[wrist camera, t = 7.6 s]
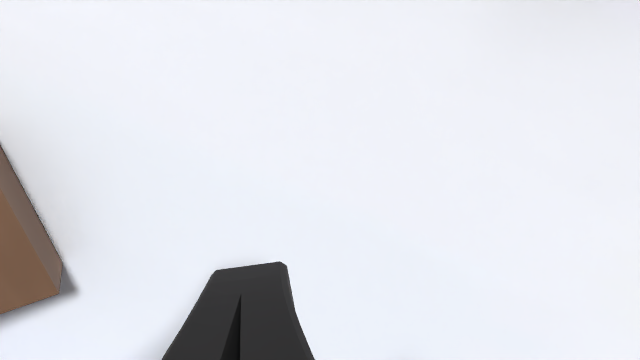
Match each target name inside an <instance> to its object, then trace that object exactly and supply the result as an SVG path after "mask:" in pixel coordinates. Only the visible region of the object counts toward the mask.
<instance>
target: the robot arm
mask: <svg viewBox="0 0 640 360" xmlns="http://www.w3.org/2000/svg"><path fill="white" fill-rule="evenodd" d="M162 360H315V359H314V357H313V355H312V353H311V350H310V348H309V345H308V343H307V340H306V338H305V336H304V333H303V331H302V328H301V326H300V323H299V320H298V318H297V315H296V312H295V307H294V302H293V296H292V291H291V286H290V280H289V275H288V270H287V266H286V265H285V264H283V263H282V262H273V263H266V264H258V265H251V266H243V267H236V268H229V269H221V270H216V271H215V272H214V273H213V274H212V275H211V277H210V279H209V281H208V283H207V284H206V286H205V288H204V290H203V292H202V293H201V295H200V297H199V299H198V301H197V302H196V304H195V306H194V307H193V309H192V311H191V313H190V314H189V316H188V318H187V319H186V321H185V323H184V324H183V326H182V328H181V329H180V331H179V333H178V334H177V336H176V337H175V339H174V341H173V342H172V344H171V345H170V347H169V349H168V350H167V352H166V353H165V355H164V356H163V358H162Z"/></svg>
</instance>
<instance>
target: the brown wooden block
mask: <svg viewBox="0 0 640 360" xmlns="http://www.w3.org/2000/svg"><path fill="white" fill-rule="evenodd" d="M61 271H62V261H61V259H60V257H59V256H58V254H57V252H56V250H55V248H54V246H53V244H52V242H51V240H50V239H49V237H48V235H47V233H46V231H45V229H44V227H43V225H42V223H41V222H40V220H39V218H38V216H37V214H36V212H35V210H34V208H33V206H32V205H31V203H30V201H29V199H28V197H27V195H26V193H25V191H24V189H23V188H22V186H21V184H20V182H19V180H18V178H17V176H16V174H15V172H14V171H13V169H12V167H11V165H10V163H9V161H8V159H7V157H6V155H5V154H4V152H3V150H2V148H1V146H0V314H2V313H5V312H8V311H11V310H13V309H16V308H19V307H22V306H25V305H28V304H31V303H34V302H36V301H39V300H42V299H45V298H48V297H51V296H54V295H57V294H59V289H60V280H61Z"/></svg>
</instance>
